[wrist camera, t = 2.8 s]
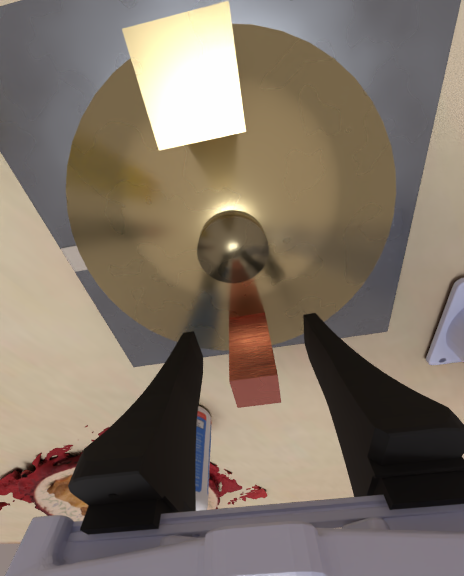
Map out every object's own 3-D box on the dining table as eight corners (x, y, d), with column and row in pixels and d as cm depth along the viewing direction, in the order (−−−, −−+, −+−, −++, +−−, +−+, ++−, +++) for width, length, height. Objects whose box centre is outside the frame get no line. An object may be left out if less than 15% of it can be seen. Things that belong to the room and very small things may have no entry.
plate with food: (152, 521, 44) (148, 549, 41) (-9, 480, 32) (-32, 517, 29) (268, 481, 36) (272, 513, 33) (112, 406, 24) (98, 447, 21)
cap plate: (462, -106, 8) (494, -137, 7) (379, 321, 18) (388, 332, 17) (-50, 36, 9) (-80, 27, 8) (137, 356, 19) (133, 368, 18)
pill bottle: (143, 408, 23) (99, 563, 15) (195, 394, 22) (177, 552, 14) (174, 435, 26) (150, 577, 18) (221, 424, 25) (218, 569, 17)
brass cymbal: (405, -12, 8) (637, -183, 4) (361, 315, 16) (416, 395, 11) (12, 87, 9) (-194, 56, 5) (149, 346, 17) (120, 430, 12)
